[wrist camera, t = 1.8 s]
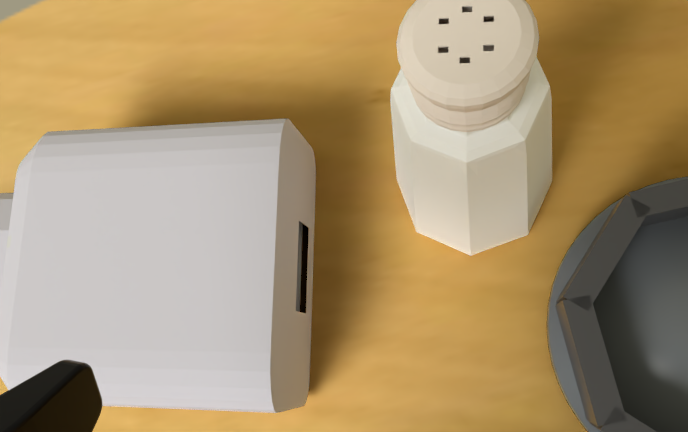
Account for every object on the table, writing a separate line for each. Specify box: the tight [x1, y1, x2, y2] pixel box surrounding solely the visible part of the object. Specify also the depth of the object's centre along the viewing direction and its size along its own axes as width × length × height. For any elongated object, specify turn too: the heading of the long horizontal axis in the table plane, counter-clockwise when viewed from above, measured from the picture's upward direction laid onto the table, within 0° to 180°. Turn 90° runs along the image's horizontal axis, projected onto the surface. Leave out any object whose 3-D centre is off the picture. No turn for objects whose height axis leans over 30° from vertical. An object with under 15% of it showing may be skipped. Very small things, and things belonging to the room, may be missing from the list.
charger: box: [0, 119, 316, 413], centre depth 23 cm, size 5×9×15 cm
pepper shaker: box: [390, 0, 552, 256], centre depth 18 cm, size 5×5×11 cm
